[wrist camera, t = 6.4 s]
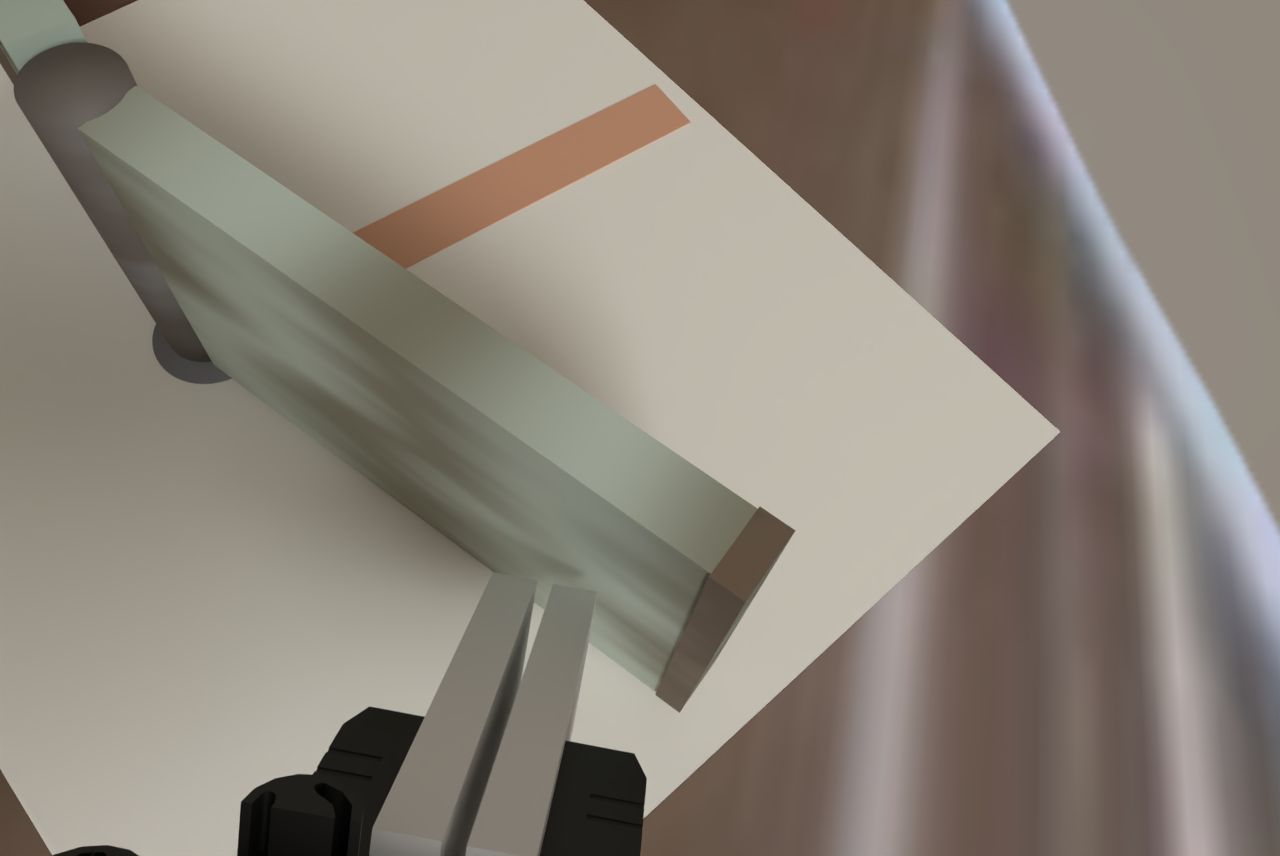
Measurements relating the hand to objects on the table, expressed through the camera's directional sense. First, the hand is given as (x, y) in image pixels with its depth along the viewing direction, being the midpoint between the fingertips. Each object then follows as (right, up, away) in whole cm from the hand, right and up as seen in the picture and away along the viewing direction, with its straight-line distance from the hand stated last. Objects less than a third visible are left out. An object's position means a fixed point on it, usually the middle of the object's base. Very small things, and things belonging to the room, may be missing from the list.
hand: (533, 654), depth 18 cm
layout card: (-5, +6, +7) cm, 11 cm away
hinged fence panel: (-3, +3, +5) cm, 6 cm away
